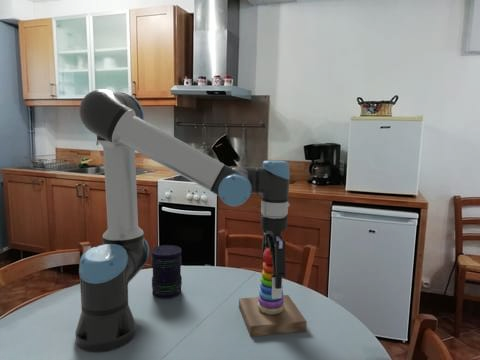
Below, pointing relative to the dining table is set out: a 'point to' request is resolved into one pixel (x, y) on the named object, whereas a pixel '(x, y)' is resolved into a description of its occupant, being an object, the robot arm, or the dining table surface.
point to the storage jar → (166, 271)
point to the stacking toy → (268, 288)
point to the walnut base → (271, 318)
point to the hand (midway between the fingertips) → (271, 290)
